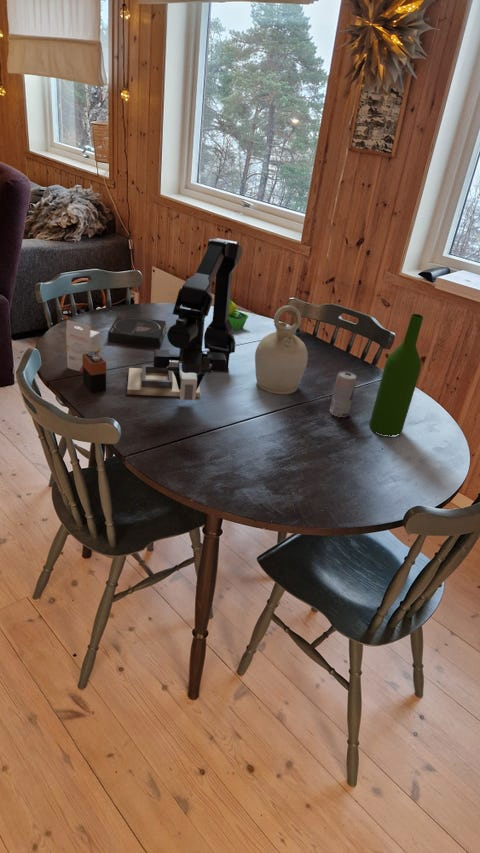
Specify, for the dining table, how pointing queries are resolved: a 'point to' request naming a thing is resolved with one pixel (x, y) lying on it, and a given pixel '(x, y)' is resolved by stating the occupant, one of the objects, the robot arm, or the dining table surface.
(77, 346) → the ink cartridge box
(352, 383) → the energy drink
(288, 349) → the jug
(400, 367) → the wine bottle
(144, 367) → the header board
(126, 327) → the portable cd player
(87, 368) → the battery
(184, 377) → the plug
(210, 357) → the robot arm
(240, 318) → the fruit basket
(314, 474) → the dining table surface
